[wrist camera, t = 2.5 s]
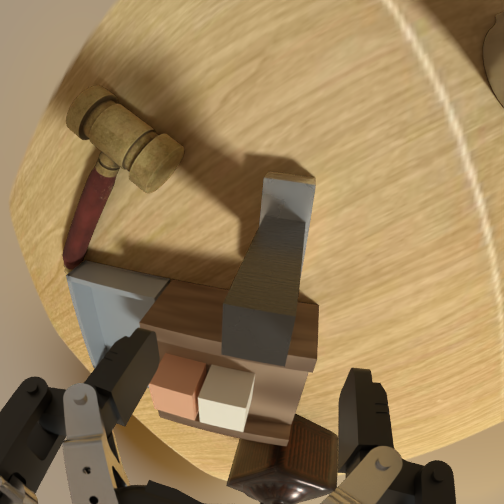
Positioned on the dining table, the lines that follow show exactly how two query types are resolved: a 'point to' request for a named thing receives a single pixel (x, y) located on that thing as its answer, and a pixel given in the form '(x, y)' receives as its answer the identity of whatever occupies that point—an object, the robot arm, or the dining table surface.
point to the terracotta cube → (178, 386)
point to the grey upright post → (270, 274)
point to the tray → (110, 303)
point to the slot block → (209, 351)
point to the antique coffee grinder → (287, 466)
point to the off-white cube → (226, 398)
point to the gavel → (113, 160)
